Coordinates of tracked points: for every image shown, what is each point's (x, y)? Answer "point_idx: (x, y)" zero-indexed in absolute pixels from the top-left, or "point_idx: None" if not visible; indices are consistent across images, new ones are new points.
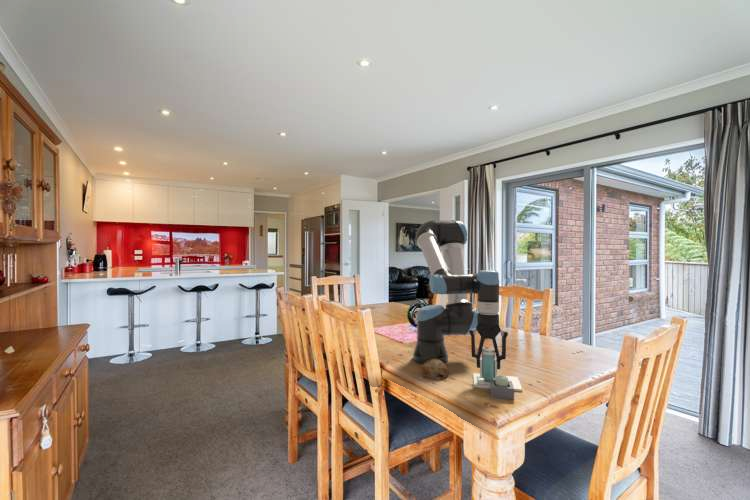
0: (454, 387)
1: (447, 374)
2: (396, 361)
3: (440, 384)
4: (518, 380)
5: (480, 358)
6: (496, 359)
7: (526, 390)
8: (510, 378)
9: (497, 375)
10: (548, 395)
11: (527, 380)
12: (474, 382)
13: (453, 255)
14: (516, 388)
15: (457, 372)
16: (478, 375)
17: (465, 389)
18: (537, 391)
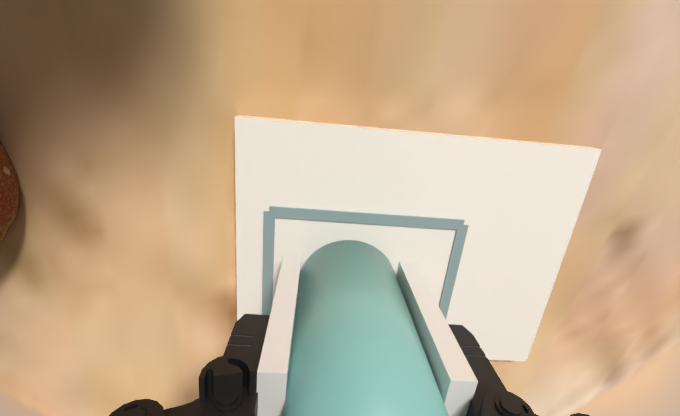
0: (121, 363)
1: (7, 217)
2: None
3: (19, 337)
4: (570, 225)
5: (262, 404)
6: (469, 402)
7: (550, 329)
8: (526, 197)
9: (442, 145)
10: (636, 367)
11: (648, 162)
12: (243, 314)
13: None
14: (496, 355)
15: (86, 61)
16: (279, 171)
17: (191, 377)
18: (607, 331)
